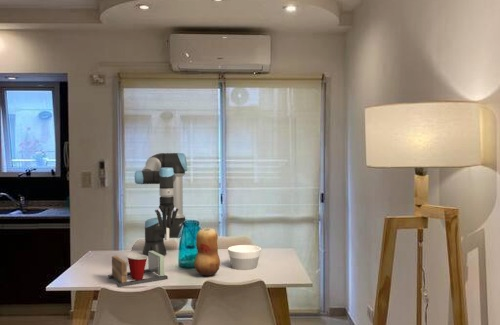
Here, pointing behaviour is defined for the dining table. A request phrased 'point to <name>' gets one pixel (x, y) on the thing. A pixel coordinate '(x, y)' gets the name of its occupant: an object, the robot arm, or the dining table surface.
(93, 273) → the dining table surface
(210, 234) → the butternut squash
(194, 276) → the dining table surface
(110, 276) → the vise bed
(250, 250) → the bowl
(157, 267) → the block
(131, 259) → the plastic cup
